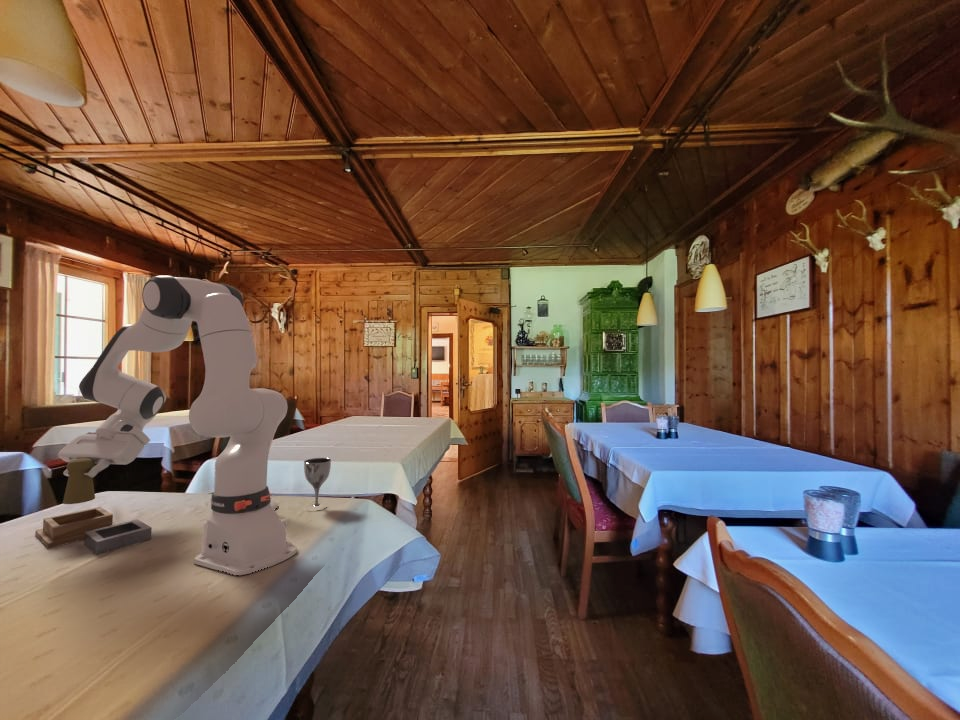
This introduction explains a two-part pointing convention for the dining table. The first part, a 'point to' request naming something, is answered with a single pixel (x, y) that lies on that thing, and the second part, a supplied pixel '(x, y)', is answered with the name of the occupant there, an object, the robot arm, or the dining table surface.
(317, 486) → the wine glass
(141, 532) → the socket block
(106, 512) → the walnut rack
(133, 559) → the dining table surface
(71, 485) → the cork
